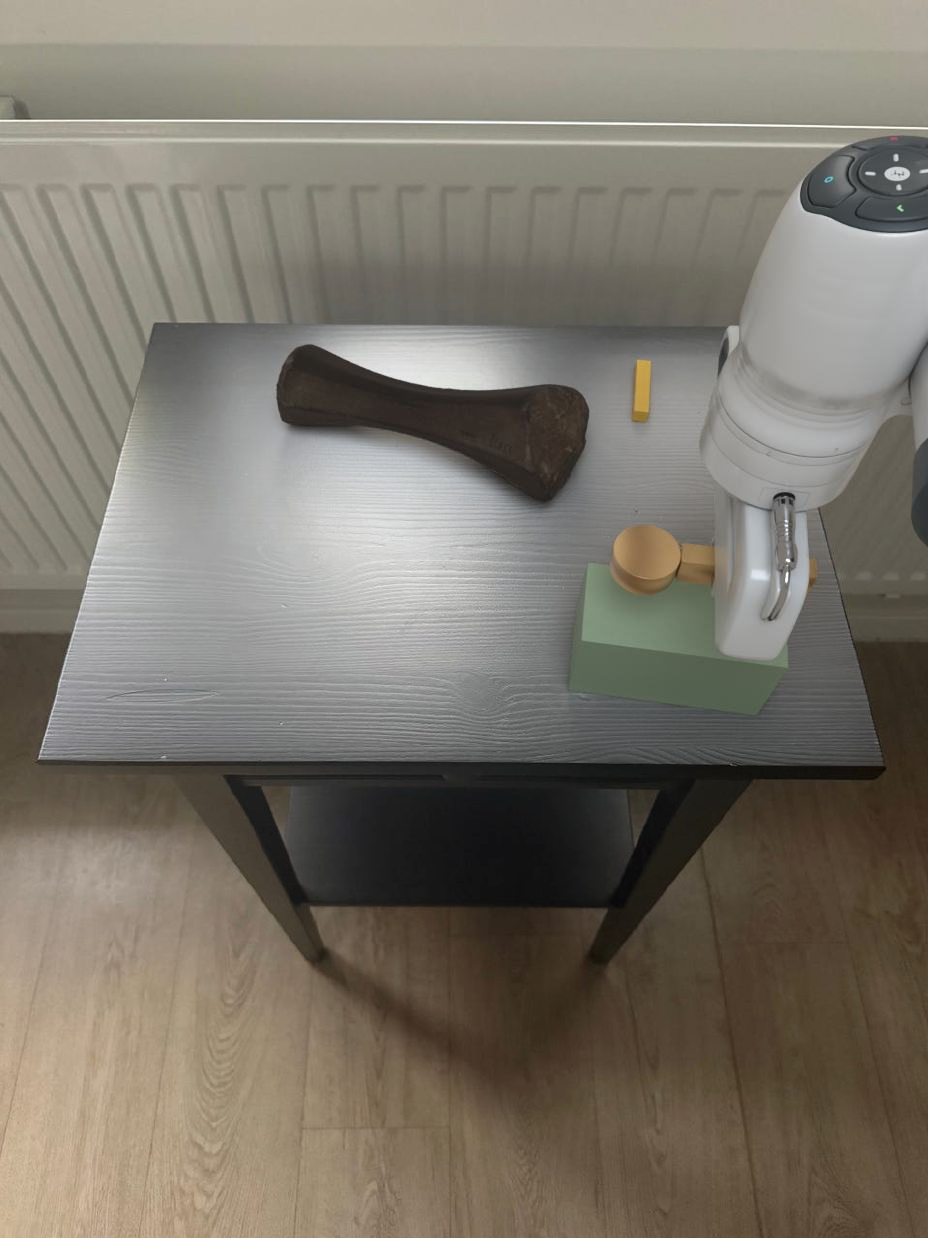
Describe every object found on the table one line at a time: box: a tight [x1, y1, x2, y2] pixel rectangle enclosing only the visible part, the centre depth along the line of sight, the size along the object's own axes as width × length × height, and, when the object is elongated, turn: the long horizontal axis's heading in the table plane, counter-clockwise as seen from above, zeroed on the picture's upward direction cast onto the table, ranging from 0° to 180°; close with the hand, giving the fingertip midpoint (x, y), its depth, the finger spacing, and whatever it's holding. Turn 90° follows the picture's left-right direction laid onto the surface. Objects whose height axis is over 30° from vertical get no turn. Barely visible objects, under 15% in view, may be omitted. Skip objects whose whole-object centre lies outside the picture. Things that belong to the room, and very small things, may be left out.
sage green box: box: [567, 562, 790, 716], centre depth 73 cm, size 15×7×8 cm, turn 82°
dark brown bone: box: [275, 343, 590, 502], centre depth 85 cm, size 11×10×28 cm
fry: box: [631, 359, 652, 423], centre depth 92 cm, size 1×7×1 cm, turn 172°
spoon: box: [608, 524, 818, 597], centre depth 64 cm, size 14×5×2 cm, turn 82°
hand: (722, 572), depth 65 cm, fingers closed on spoon, 2 cm apart
